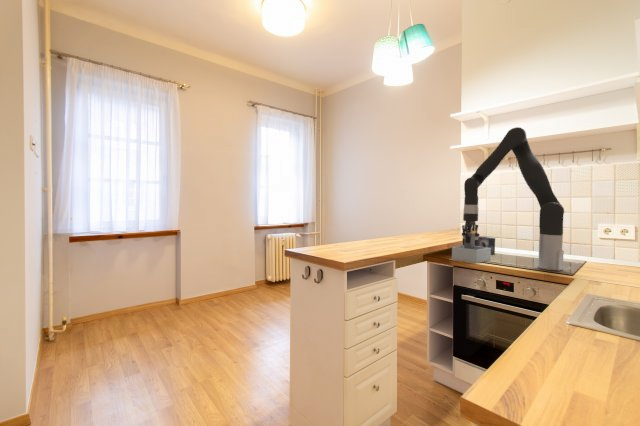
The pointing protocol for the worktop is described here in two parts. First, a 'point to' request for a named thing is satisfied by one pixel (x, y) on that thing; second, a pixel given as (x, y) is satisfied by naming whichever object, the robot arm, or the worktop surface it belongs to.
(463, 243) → the coffee cup
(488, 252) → the walled box
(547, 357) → the worktop surface
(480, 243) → the small box
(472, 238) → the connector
